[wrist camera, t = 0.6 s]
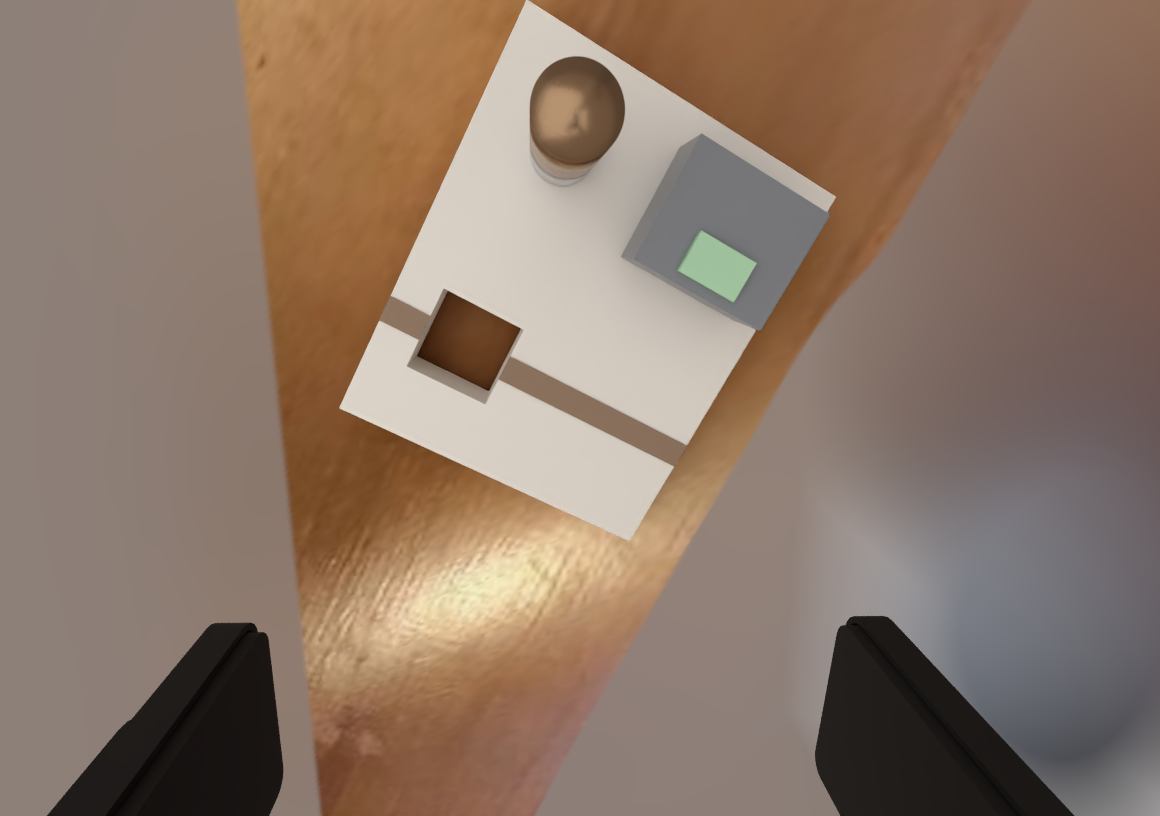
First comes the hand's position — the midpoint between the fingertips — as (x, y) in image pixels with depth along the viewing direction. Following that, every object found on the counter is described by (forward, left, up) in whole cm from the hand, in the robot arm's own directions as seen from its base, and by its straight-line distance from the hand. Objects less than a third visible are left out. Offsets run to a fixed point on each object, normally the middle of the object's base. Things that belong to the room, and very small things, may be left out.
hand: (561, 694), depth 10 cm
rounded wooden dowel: (-11, -4, -24) cm, 26 cm away
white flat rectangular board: (-5, 0, -27) cm, 27 cm away
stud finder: (-11, +4, -24) cm, 26 cm away
